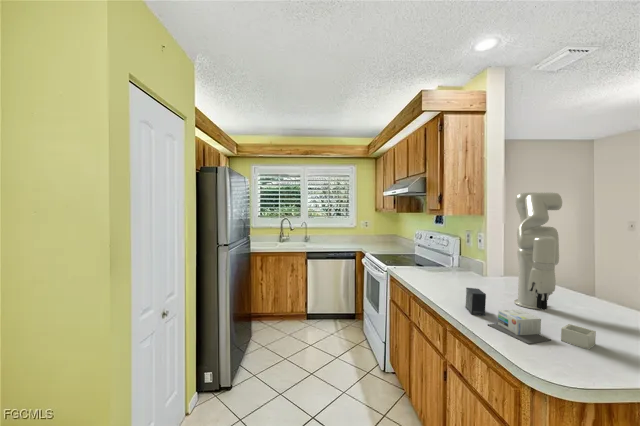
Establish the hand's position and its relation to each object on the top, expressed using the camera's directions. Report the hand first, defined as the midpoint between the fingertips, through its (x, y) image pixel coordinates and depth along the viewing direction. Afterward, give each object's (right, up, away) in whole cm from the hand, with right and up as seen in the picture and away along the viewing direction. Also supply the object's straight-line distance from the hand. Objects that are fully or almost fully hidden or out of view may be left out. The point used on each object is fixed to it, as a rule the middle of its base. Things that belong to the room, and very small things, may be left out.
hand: (541, 308), depth 123 cm
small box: (-18, -8, +19) cm, 28 cm away
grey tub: (+4, -9, -13) cm, 16 cm away
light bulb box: (-6, -5, -2) cm, 8 cm away
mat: (-13, -8, -5) cm, 16 cm away
